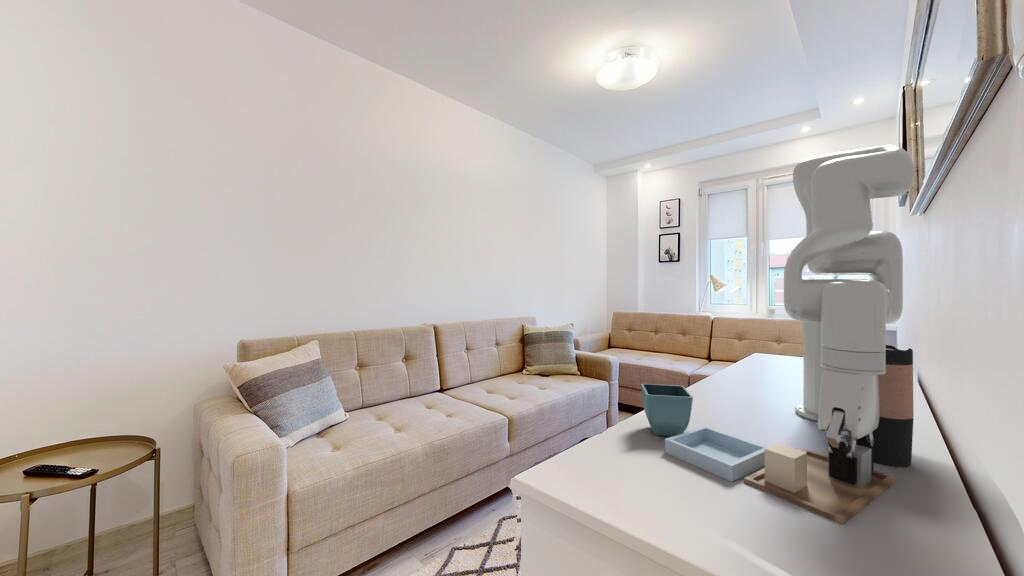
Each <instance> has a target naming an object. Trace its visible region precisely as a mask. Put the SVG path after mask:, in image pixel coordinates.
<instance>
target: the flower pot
mask: <svg viewBox="0 0 1024 576" xmlns="http://www.w3.org/2000/svg"><path fill="white" fill-rule="evenodd" d="M640 385H641V386H640V387H641V393H642V394H641V395H642V403H643V404H642V405H643V409H644V412H645V416H646V418H647V421H648V423H649V426H650V428H651V430H652V431H651V432H653V435H656V436H664V437H673V436H676V435H679V434H682V433H685V432H686V430H687V428H688V427H689V424H690V420H691V416H692V415H691V414H692V409H693V407H692V406H693V399H694V396H693V395H692V394H691V393H690V392H689V391H688V390H687V388H685V386H683V385H677V384H675V385H674V384H656V383H655V384H653V383H641V384H640Z"/></svg>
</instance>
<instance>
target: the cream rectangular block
mask: <svg viewBox="0 0 1024 576" xmlns="http://www.w3.org/2000/svg"><path fill="white" fill-rule="evenodd" d="M766 447H767V446H766ZM801 450H802V449H797V448H794V447H791V446H789V445H786V444H785V445H784V444H782V443H778V442H777V443H774V444H772V445H770V446H768V447H767V448H765V466H764V468H765V481H766V482H768V483H771V484H773V485H776V486H778V487H781V488H783V489H786V490H788V491H791V492H793V493H796V492H797V491H799V490H801V489H802V488H804V487H806V486H807V452H804V451H801Z"/></svg>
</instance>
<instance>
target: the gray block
mask: <svg viewBox="0 0 1024 576" xmlns="http://www.w3.org/2000/svg"><path fill="white" fill-rule="evenodd" d="M841 441H842V442H845V444H846V446H847V447H848V442H846V441H847V440H843V439H842V440H841ZM827 447H829V444H828V445H827ZM827 451H828V450H827ZM827 454H828V455H827V456H828V477H830V476H829V451H828V453H827ZM854 458H857V483H856V484H855V485H854V486H857V487H859V488H862V487H864V486H865V485H866V484H868V483H869V482H871V448H867V447H864V446H860V445H857V444H856V446H855V452H854ZM831 478H832V477H831ZM834 479H835V478H834ZM842 482H843V481H842ZM845 483H846V482H845ZM848 484H849V483H848ZM851 485H852V484H851Z"/></svg>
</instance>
